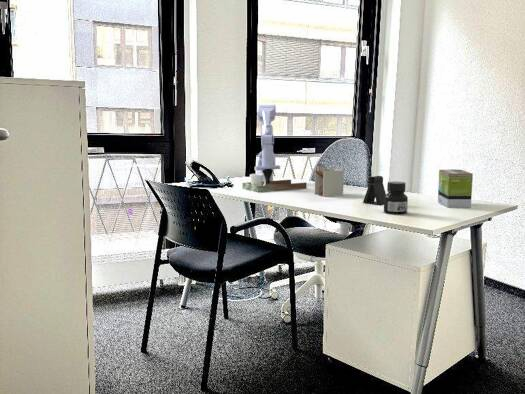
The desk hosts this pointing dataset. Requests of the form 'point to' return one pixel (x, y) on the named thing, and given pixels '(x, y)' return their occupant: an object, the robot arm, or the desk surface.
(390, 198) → the ink bottle
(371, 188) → the black binoculars
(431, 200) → the desk surface
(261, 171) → the robot arm
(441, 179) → the tea box
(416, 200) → the desk surface
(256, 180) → the cup
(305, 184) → the trap box
